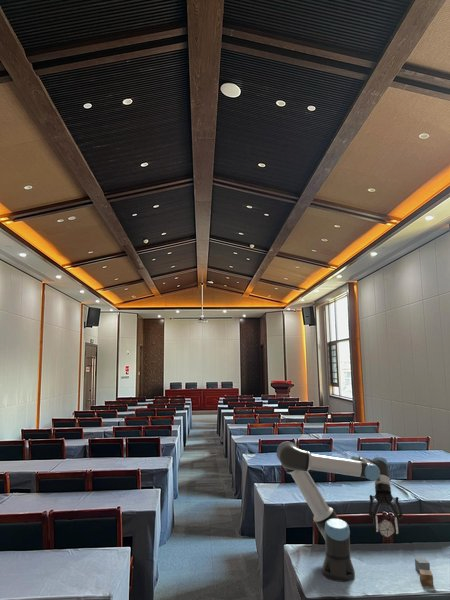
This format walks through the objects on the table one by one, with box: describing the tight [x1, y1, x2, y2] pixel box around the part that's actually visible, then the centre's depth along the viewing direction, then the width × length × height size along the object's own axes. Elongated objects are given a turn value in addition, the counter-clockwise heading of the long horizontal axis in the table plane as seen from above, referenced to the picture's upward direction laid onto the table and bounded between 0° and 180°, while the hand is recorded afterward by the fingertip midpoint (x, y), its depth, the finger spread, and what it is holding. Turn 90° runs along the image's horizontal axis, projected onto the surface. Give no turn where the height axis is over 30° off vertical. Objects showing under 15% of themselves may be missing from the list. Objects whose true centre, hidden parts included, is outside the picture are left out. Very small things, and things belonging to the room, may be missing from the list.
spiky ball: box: [377, 517, 396, 540], centre depth 211 cm, size 9×8×10 cm
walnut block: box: [418, 569, 434, 588], centre depth 205 cm, size 5×5×5 cm
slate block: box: [414, 557, 431, 573], centre depth 217 cm, size 5×5×5 cm
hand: (387, 531), depth 208 cm, fingers closed on spiky ball, 8 cm apart
